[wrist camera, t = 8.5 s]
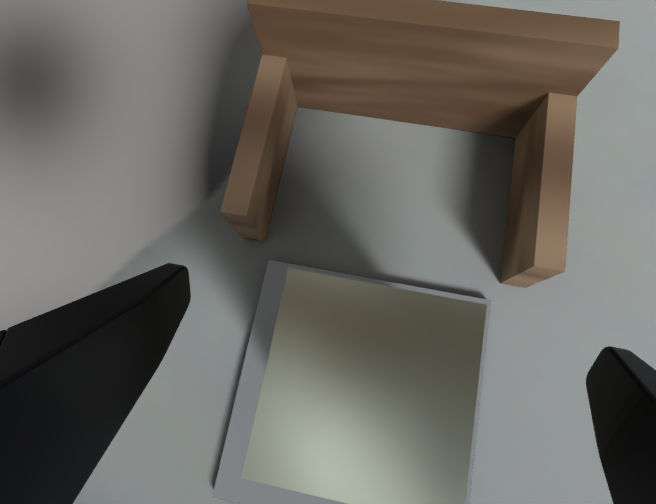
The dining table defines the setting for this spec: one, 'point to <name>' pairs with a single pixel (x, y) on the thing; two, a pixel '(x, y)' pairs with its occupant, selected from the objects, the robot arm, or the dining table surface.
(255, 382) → the slate mat
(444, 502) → the sage block
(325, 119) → the dining table surface
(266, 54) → the walnut u-shaped frame
